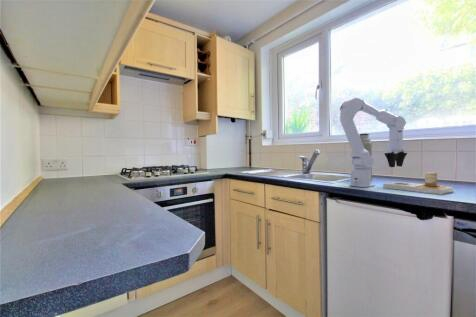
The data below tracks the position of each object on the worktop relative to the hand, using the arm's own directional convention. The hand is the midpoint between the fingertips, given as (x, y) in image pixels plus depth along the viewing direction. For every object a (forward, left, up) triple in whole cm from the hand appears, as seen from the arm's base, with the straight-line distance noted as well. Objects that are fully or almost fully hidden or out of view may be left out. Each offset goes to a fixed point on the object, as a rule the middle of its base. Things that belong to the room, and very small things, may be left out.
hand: (395, 166), depth 118 cm
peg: (-8, -17, -9) cm, 21 cm away
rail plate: (-8, -12, -9) cm, 17 cm away
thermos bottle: (+6, +20, -10) cm, 23 cm away
